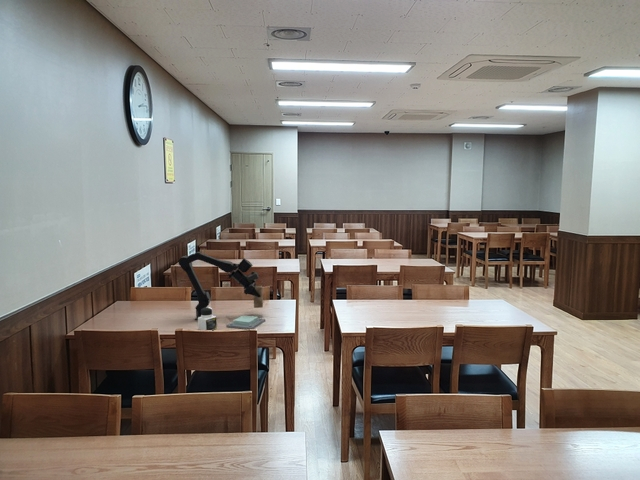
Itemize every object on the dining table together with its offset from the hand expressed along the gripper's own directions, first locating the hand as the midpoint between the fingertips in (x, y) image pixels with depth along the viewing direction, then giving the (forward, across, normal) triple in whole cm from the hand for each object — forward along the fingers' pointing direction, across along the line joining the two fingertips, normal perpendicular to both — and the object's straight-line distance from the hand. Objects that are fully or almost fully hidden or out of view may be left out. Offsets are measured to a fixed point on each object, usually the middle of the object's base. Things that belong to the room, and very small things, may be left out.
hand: (260, 295), depth 261 cm
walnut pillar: (+4, 0, +6) cm, 7 cm away
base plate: (+4, -14, +14) cm, 20 cm away
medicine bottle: (-11, -20, +29) cm, 37 cm away
